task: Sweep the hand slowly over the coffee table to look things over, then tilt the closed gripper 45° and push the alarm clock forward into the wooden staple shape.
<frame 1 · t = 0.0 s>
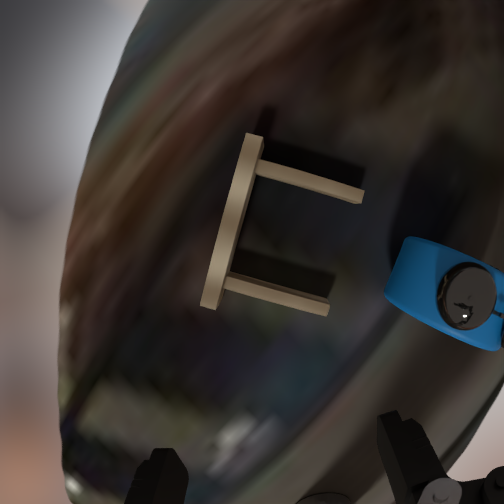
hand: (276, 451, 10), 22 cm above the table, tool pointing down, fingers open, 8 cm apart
alarm clock: (424, 277, 31), on the table
wooden staple shape: (297, 238, 32), on the table
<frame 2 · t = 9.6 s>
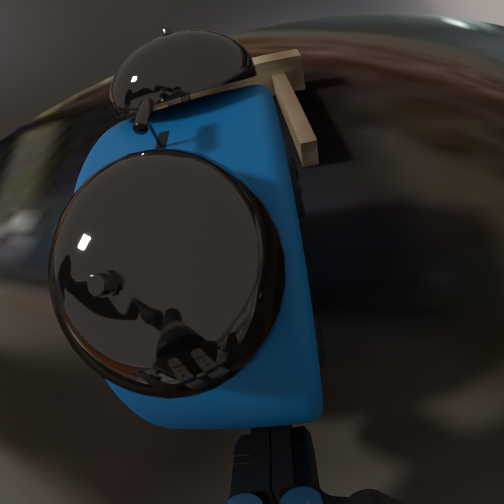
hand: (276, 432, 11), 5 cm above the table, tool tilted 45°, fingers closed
alarm clock: (261, 311, 19), on the table, touching gripper
wooden staple shape: (231, 143, 26), on the table
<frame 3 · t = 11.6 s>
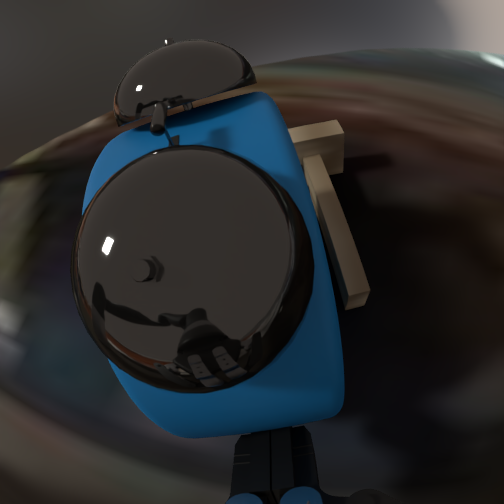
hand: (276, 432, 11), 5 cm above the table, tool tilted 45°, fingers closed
alarm clock: (263, 320, 19), on the table, touching gripper
wooden staple shape: (251, 261, 21), on the table
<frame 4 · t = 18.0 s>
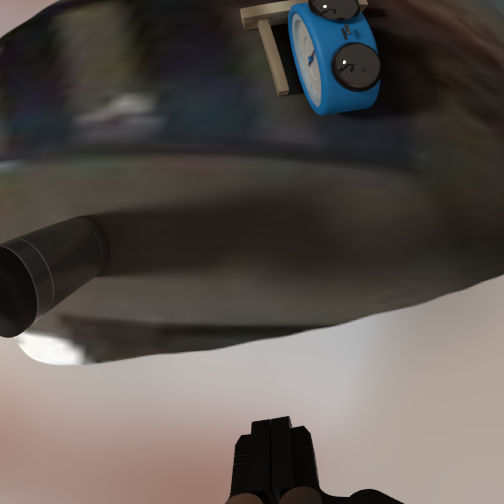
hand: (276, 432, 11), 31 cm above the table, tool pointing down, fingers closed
alarm clock: (320, 72, 36), on the table
wooden staple shape: (316, 55, 35), on the table
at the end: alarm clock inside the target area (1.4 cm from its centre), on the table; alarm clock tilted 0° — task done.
